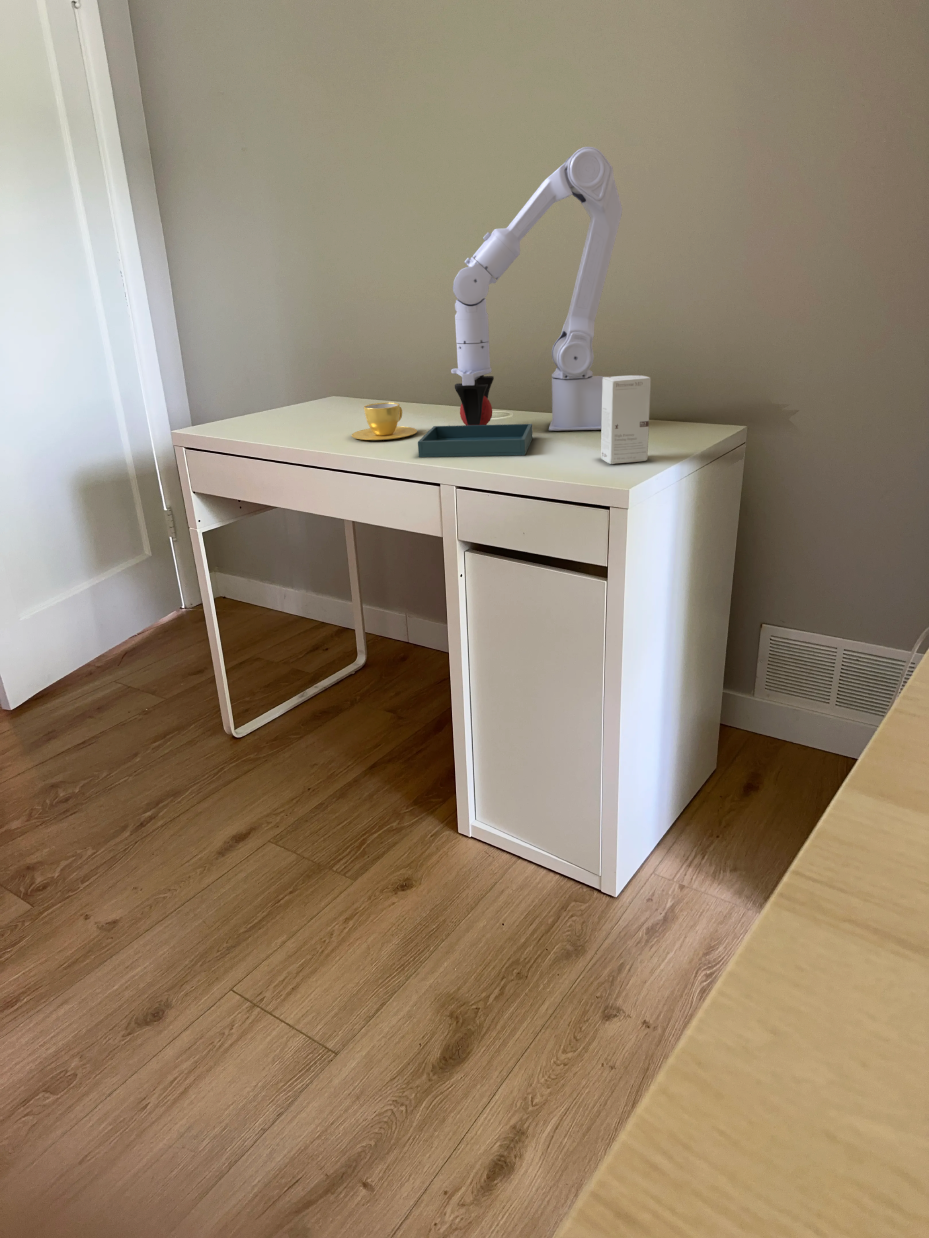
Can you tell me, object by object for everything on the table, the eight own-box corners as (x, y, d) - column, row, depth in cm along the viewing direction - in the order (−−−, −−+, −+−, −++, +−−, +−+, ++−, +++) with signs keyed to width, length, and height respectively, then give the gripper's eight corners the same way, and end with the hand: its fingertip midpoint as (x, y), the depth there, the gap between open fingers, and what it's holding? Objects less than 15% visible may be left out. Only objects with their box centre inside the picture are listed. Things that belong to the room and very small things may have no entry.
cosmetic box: (610, 465, 125) (611, 380, 120) (599, 459, 129) (600, 377, 124) (649, 461, 126) (652, 377, 122) (637, 455, 130) (639, 373, 126)
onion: (489, 435, 151) (488, 389, 147) (458, 435, 152) (455, 390, 149) (495, 429, 156) (493, 384, 153) (464, 429, 157) (462, 385, 154)
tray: (532, 438, 146) (532, 423, 145) (525, 455, 134) (524, 439, 133) (434, 440, 149) (433, 426, 148) (418, 457, 137) (417, 441, 136)
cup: (387, 444, 148) (384, 413, 146) (338, 439, 155) (334, 409, 153) (430, 431, 157) (428, 401, 155) (382, 427, 164) (379, 398, 161)
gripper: (457, 339, 155) (461, 414, 160) (442, 347, 142) (447, 429, 147) (495, 337, 154) (498, 413, 159) (484, 346, 141) (487, 428, 146)
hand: (476, 421), depth 153 cm, fingers closed on onion, 6 cm apart
